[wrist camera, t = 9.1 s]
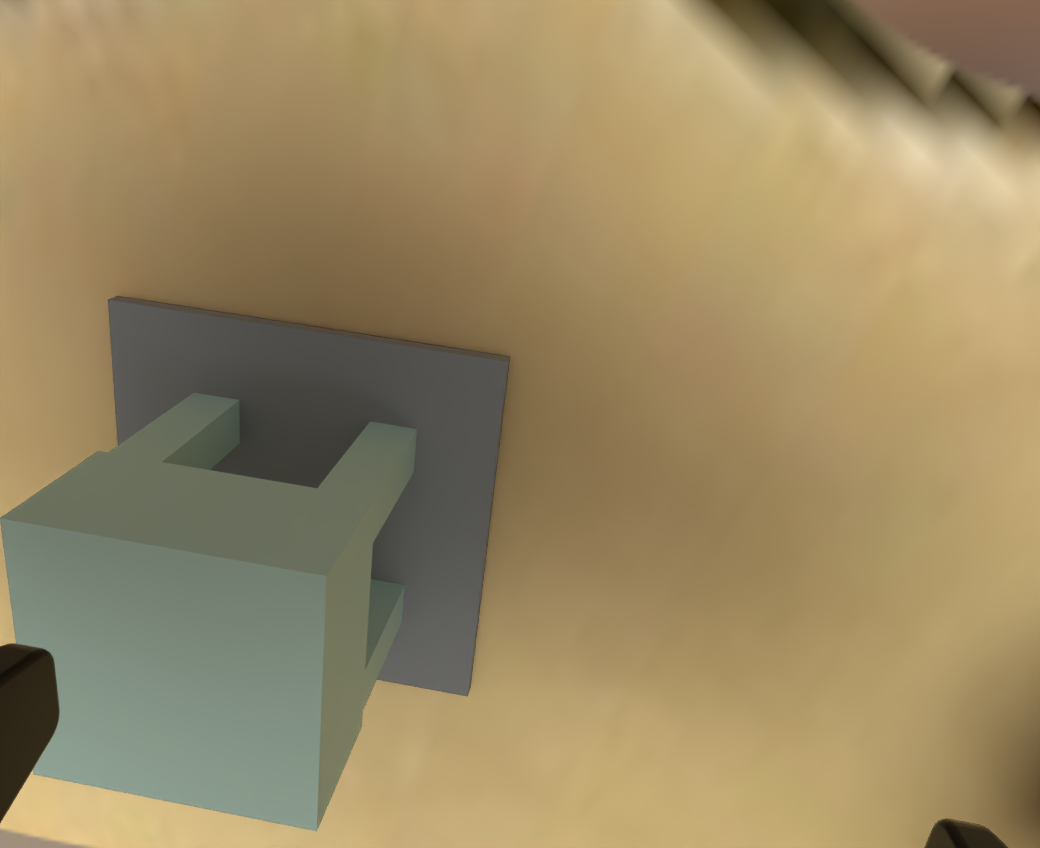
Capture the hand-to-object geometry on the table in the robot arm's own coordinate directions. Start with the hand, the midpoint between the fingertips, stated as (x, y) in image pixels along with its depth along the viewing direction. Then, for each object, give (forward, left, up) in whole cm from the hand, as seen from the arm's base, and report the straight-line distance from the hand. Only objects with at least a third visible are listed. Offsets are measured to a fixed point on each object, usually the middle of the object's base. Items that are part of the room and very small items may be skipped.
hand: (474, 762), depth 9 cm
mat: (+6, +5, -13) cm, 15 cm away
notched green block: (+6, +5, -13) cm, 15 cm away
